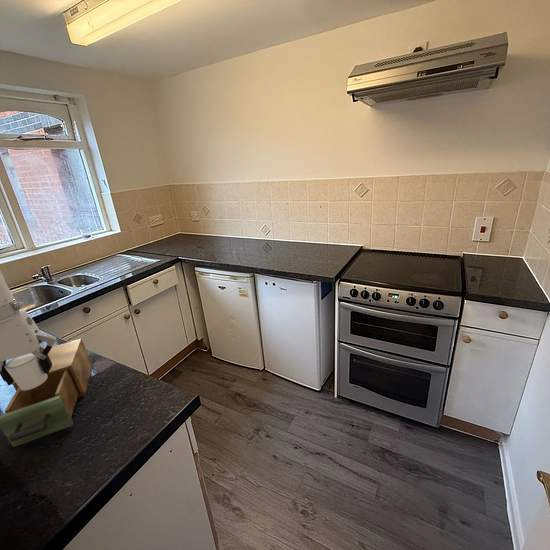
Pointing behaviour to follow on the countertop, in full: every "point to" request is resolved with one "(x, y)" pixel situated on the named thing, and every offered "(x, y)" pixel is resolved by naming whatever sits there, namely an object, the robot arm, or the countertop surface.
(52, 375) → the drawer
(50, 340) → the robot arm
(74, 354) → the cabinet
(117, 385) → the countertop surface
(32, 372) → the white short cylinder
